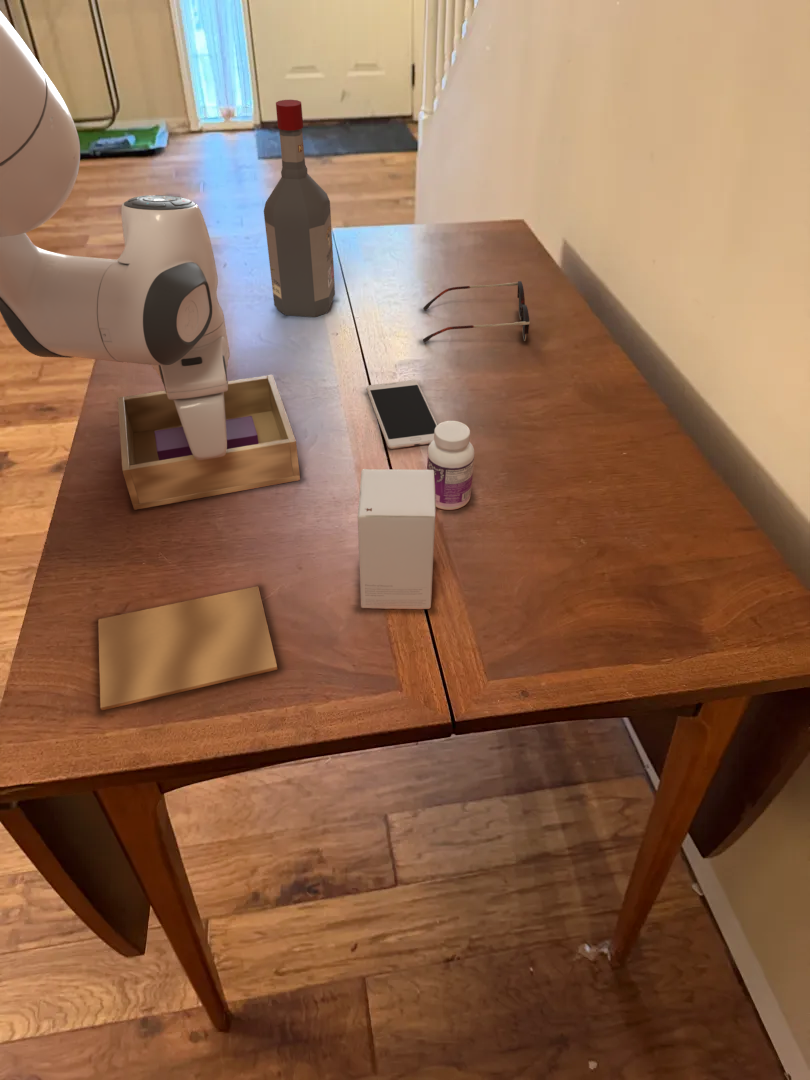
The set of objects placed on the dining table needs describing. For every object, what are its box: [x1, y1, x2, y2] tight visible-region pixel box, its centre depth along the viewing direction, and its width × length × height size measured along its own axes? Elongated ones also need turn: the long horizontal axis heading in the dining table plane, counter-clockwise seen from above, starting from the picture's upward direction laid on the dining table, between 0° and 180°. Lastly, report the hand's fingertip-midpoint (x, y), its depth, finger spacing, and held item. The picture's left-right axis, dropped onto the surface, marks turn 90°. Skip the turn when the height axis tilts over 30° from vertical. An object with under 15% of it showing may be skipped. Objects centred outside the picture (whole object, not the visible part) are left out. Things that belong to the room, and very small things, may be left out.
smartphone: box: [366, 379, 439, 450], centre depth 105 cm, size 8×1×15 cm
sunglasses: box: [422, 280, 531, 343], centre depth 122 cm, size 14×16×5 cm
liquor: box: [263, 99, 336, 318], centre depth 119 cm, size 9×9×30 cm
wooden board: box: [97, 585, 279, 711], centre depth 75 cm, size 16×11×1 cm
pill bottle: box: [426, 420, 475, 511], centre depth 89 cm, size 5×5×10 cm
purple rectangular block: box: [155, 416, 259, 460], centre depth 96 cm, size 12×4×3 cm, turn 107°
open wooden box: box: [117, 374, 301, 511], centre depth 96 cm, size 20×16×6 cm
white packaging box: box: [357, 468, 437, 610], centre depth 77 cm, size 7×7×13 cm
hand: (208, 445), depth 97 cm, fingers closed on purple rectangular block, 4 cm apart
